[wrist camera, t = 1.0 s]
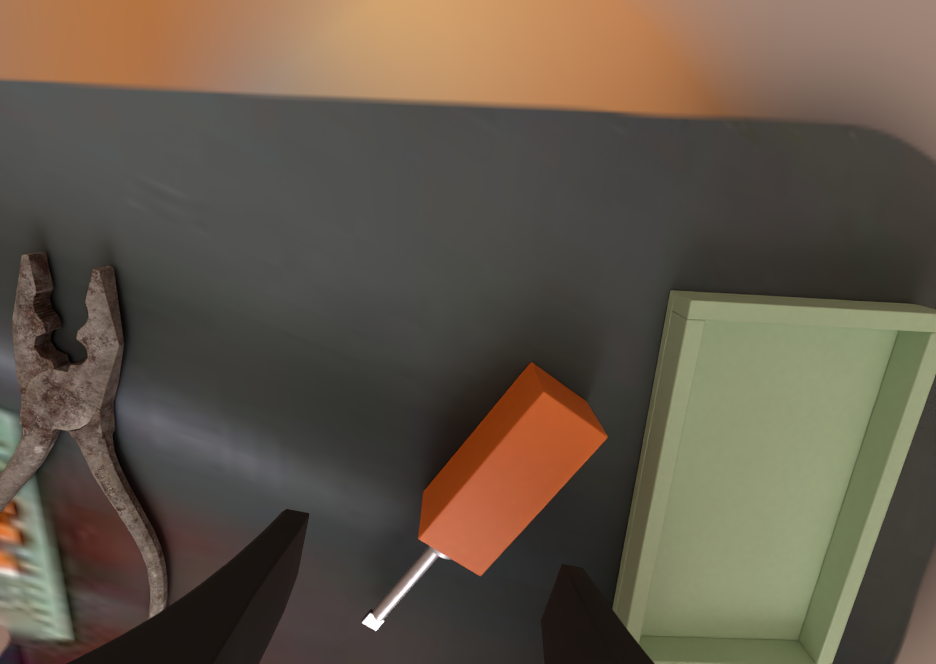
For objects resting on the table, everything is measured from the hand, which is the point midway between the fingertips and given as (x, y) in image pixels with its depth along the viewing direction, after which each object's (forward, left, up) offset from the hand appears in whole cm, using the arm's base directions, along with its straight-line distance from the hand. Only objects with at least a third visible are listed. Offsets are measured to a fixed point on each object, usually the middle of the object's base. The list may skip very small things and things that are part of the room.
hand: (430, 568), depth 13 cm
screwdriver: (-5, +1, -10) cm, 11 cm away
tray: (-10, -12, -10) cm, 18 cm away
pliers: (+5, +18, -10) cm, 21 cm away
